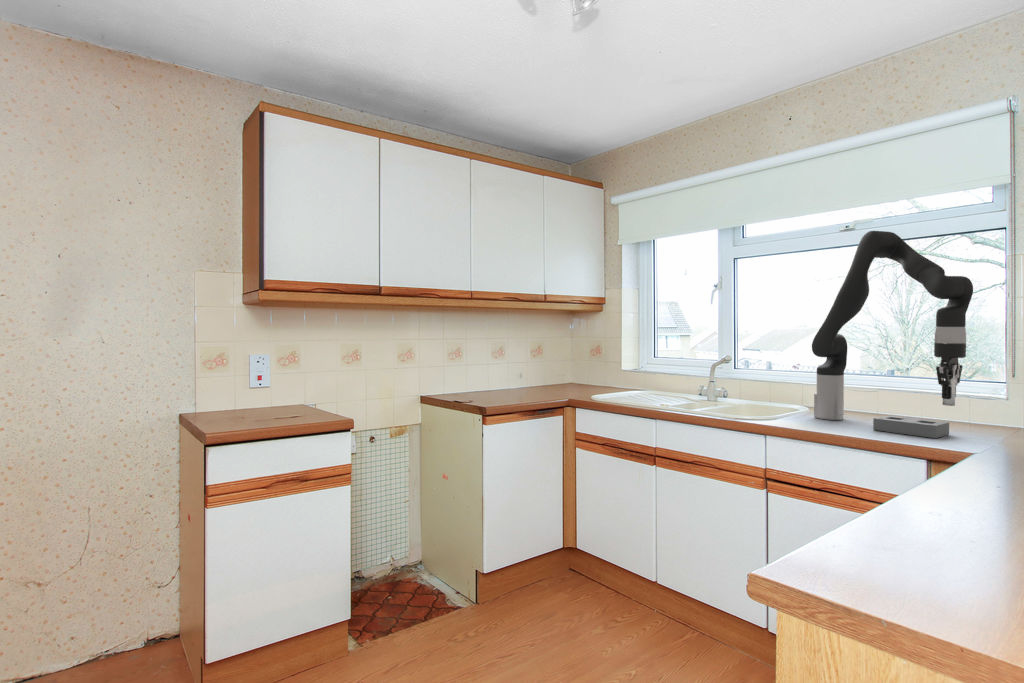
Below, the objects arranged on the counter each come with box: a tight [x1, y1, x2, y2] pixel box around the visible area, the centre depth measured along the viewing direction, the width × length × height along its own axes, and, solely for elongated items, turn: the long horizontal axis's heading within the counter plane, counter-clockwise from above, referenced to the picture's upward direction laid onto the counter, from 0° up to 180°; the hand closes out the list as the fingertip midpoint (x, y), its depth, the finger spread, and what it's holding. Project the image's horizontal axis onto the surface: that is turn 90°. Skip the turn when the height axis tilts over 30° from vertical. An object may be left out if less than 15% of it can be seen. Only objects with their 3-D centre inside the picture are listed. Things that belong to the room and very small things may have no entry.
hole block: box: [872, 414, 950, 439], centre depth 183 cm, size 18×11×4 cm, turn 34°
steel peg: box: [942, 375, 957, 407], centre depth 165 cm, size 3×3×9 cm
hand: (948, 398), depth 165 cm, fingers closed on steel peg, 3 cm apart
